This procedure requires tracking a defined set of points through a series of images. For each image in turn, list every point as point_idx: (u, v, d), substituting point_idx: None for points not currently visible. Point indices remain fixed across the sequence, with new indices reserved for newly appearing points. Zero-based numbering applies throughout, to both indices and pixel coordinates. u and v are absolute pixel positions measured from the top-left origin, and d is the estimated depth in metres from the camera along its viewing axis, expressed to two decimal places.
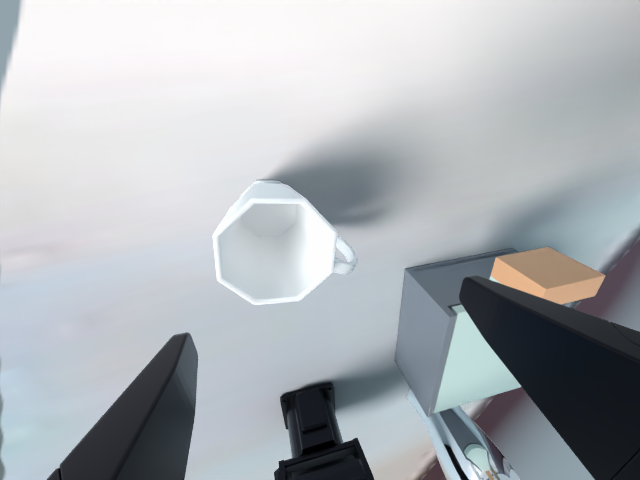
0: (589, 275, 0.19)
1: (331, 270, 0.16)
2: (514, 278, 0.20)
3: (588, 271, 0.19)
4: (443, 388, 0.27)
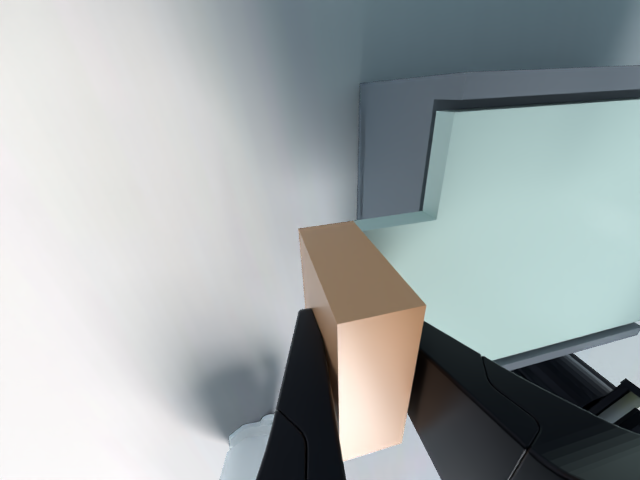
0: (333, 349, 0.06)
1: None
2: None
3: (328, 324, 0.06)
4: (585, 330, 0.14)
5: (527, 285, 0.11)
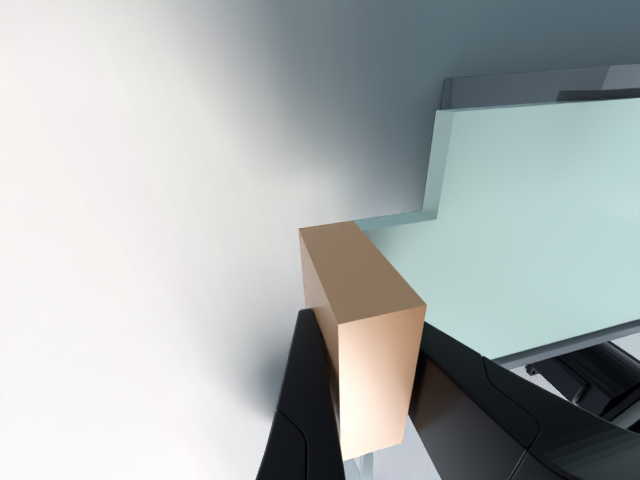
0: (334, 349, 0.06)
1: None
2: None
3: (329, 325, 0.06)
4: (585, 329, 0.14)
5: (527, 284, 0.11)
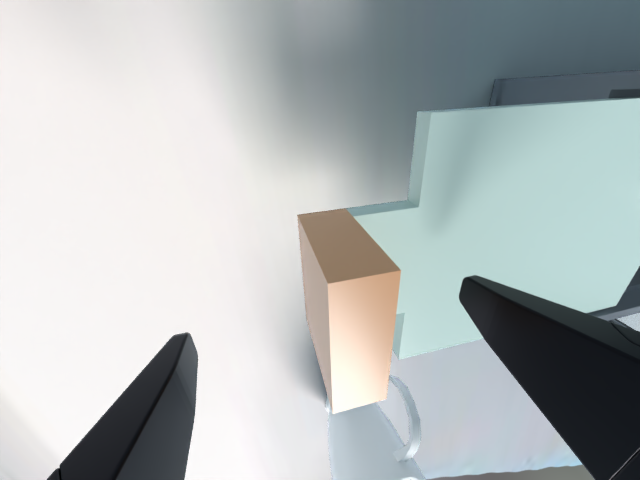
0: (325, 308, 0.07)
1: (408, 478, 0.18)
2: None
3: (321, 289, 0.07)
4: None
5: (505, 269, 0.13)
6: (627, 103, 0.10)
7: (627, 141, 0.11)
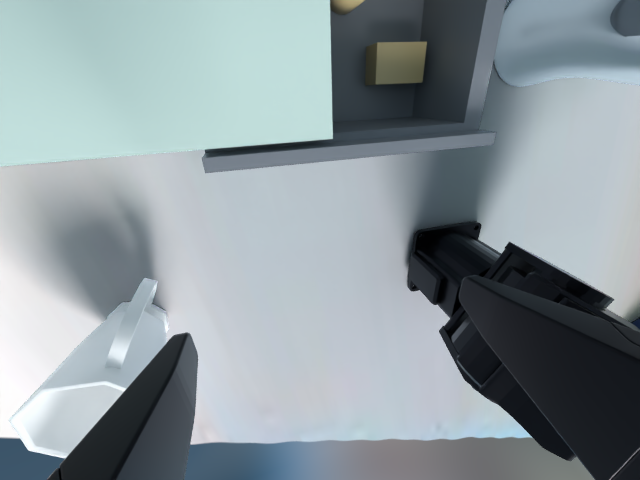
0: None
1: (101, 383, 0.14)
2: None
3: None
4: (237, 136, 0.11)
5: (41, 9, 0.08)
6: None
7: None
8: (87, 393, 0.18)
